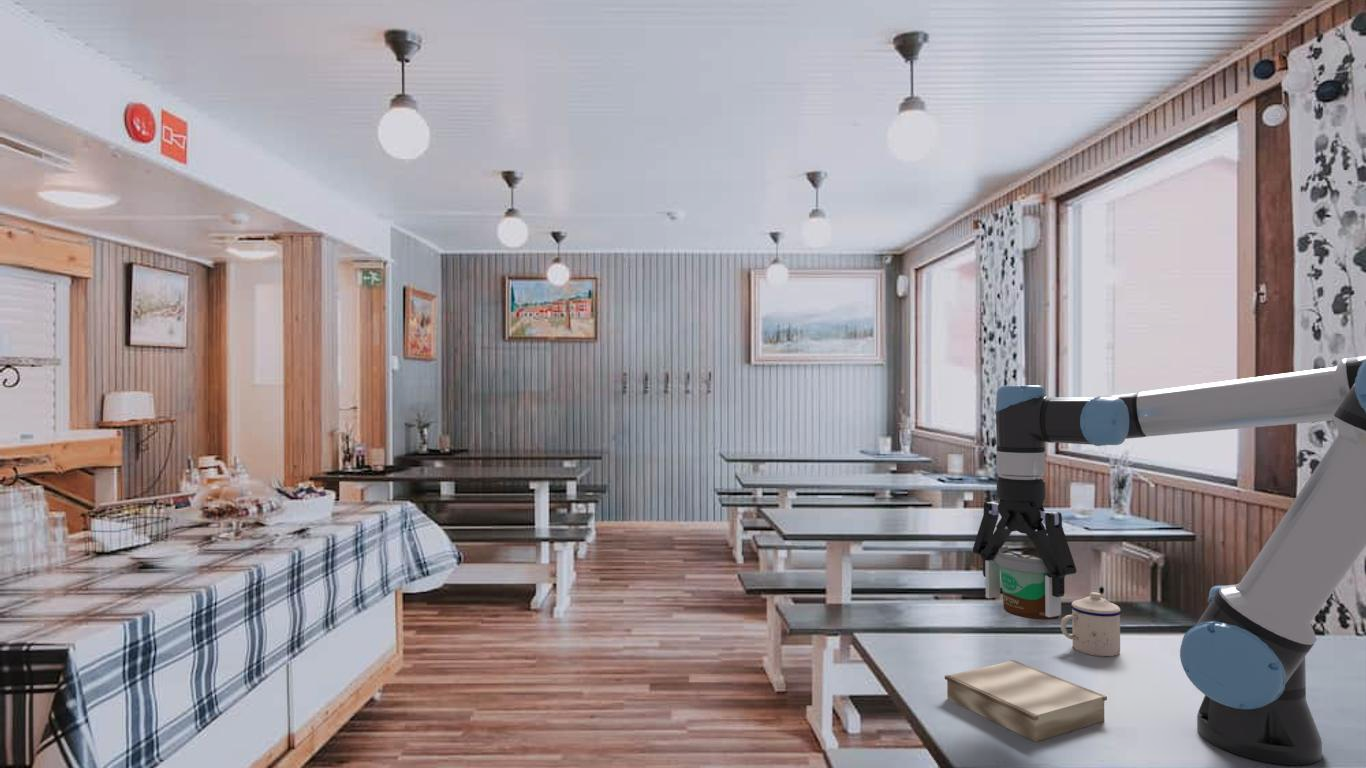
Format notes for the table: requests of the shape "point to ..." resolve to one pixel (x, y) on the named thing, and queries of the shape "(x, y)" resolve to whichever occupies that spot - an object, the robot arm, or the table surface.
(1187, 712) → the table surface
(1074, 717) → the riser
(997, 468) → the robot arm
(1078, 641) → the teacup with lid
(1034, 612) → the food container
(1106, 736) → the table surface
